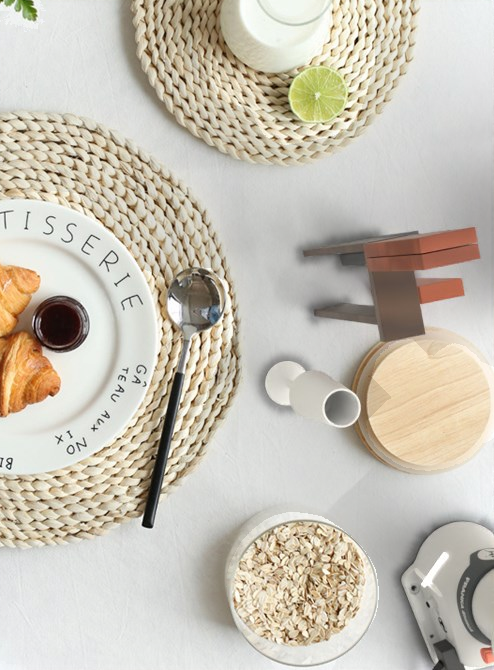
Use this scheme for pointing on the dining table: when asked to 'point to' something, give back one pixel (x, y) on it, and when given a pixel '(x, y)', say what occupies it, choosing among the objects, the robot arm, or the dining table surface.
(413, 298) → the shelf
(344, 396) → the champagne flute
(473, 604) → the robot arm
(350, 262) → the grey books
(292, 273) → the dining table surface
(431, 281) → the terracotta book
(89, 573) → the dining table surface
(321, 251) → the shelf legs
